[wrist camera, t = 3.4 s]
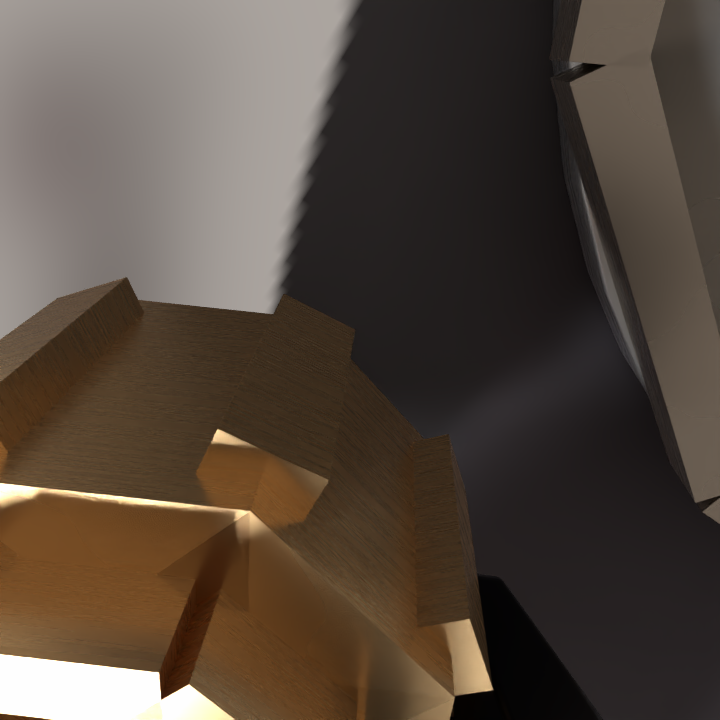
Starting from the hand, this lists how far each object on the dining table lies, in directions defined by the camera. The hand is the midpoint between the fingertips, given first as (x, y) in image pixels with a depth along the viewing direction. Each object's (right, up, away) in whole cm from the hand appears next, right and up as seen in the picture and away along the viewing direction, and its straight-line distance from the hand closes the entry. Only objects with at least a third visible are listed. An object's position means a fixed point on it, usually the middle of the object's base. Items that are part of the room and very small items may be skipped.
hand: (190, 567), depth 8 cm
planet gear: (0, +1, +1) cm, 1 cm away
